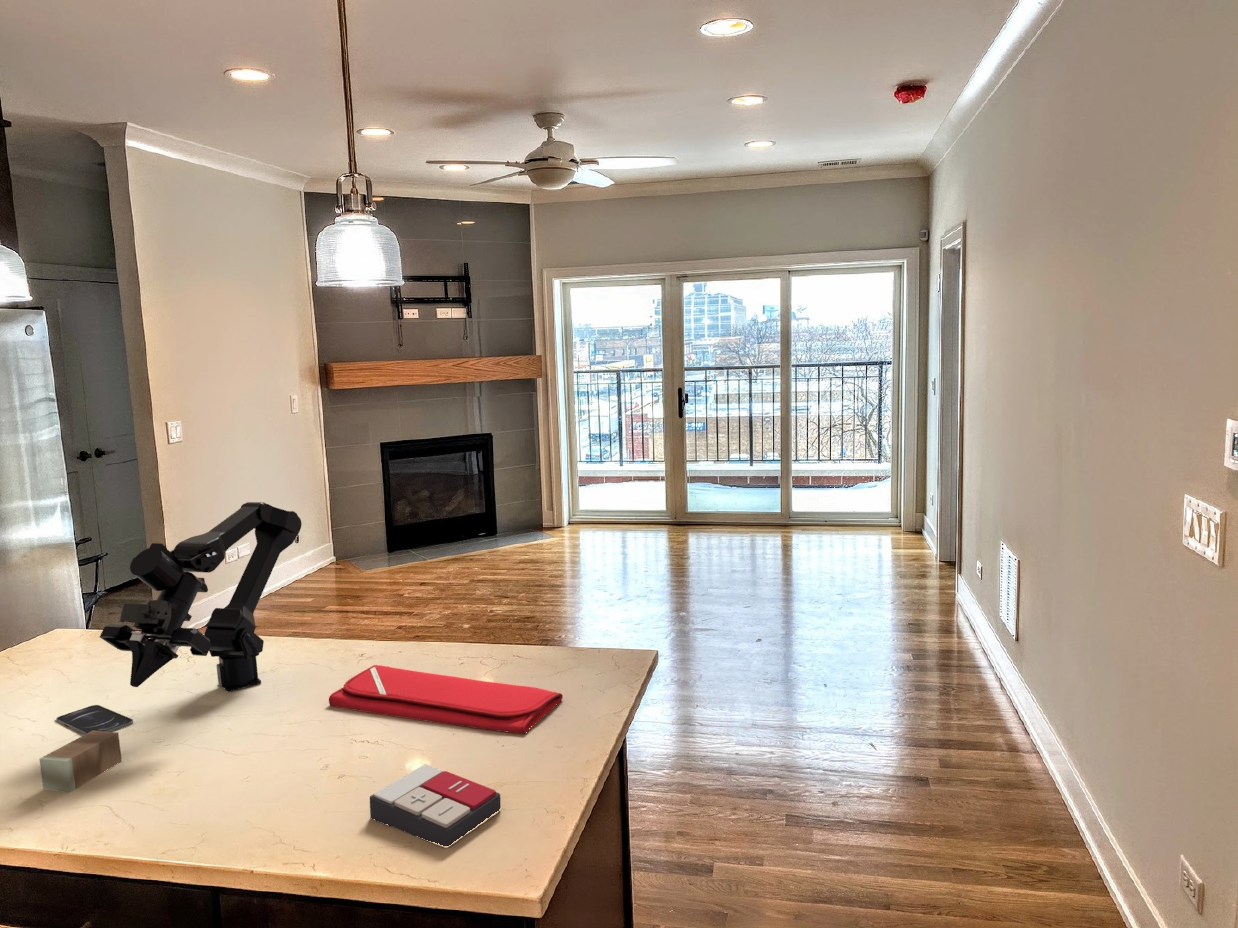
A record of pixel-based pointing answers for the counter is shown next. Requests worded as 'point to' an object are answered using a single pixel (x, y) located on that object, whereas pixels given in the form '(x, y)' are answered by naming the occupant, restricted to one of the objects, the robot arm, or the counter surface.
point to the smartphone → (94, 720)
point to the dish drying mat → (445, 699)
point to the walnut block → (80, 761)
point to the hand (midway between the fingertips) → (133, 686)
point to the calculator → (434, 805)
